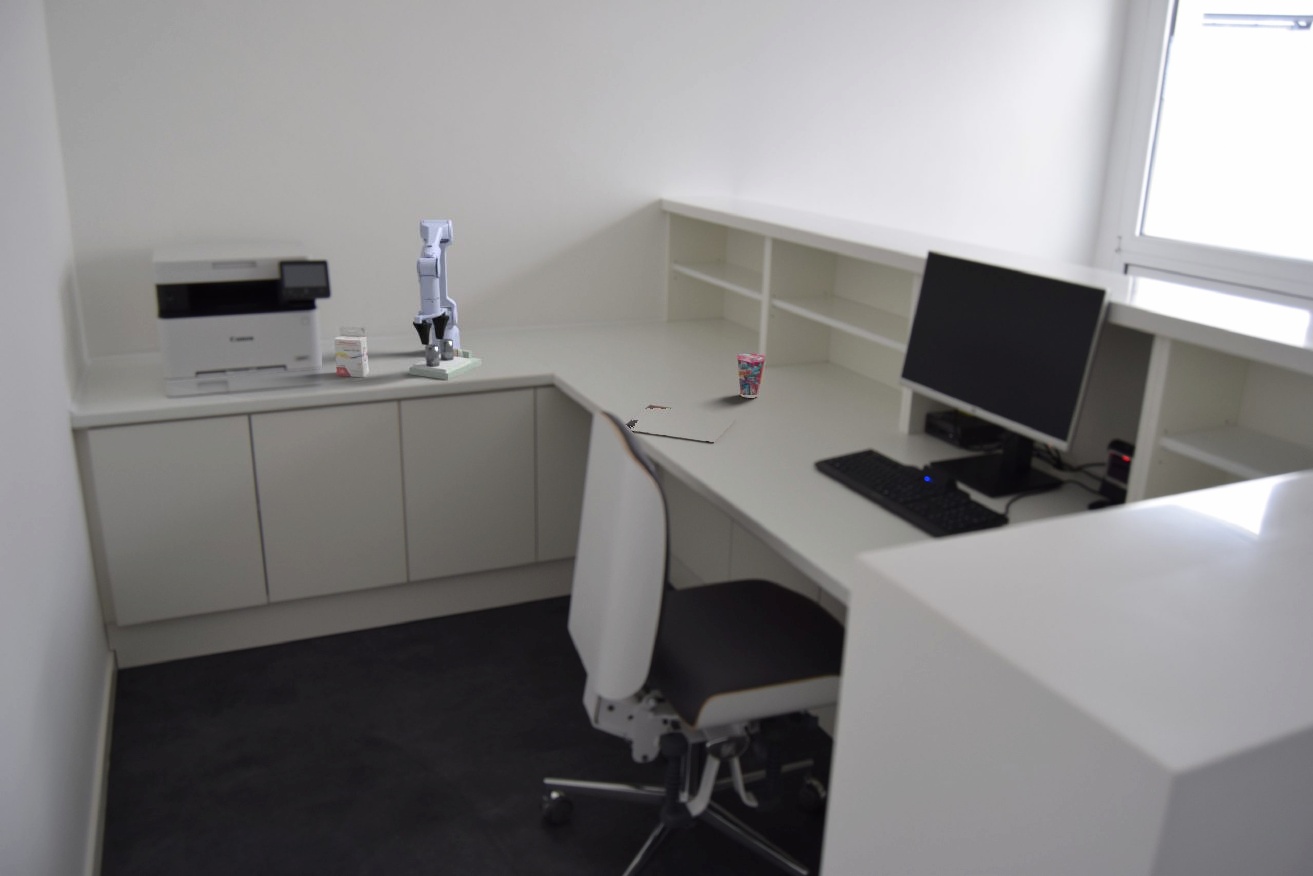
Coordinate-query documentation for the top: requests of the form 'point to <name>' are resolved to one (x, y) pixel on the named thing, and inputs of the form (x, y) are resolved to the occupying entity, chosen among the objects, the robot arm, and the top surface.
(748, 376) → the cup
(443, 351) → the cylinder
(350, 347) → the ink cartridge box
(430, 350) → the cylinder
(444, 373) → the scale
